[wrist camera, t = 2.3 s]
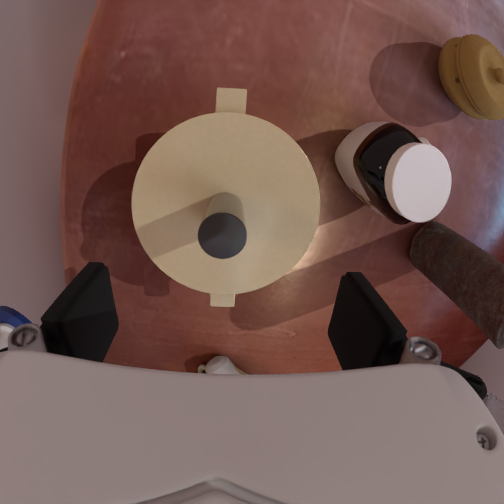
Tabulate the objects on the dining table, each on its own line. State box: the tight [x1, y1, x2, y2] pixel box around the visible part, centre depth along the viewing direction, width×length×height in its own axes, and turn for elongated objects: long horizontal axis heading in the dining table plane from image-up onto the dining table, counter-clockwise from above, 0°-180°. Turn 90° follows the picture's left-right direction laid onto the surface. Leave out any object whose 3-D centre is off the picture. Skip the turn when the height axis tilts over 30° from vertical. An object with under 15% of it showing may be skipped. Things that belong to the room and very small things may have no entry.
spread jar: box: [335, 121, 451, 225], centre depth 25 cm, size 12×11×12 cm
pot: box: [438, 34, 504, 120], centre depth 21 cm, size 12×12×10 cm
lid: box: [132, 112, 320, 295], centre depth 20 cm, size 16×16×7 cm
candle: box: [410, 221, 504, 349], centre depth 26 cm, size 8×7×20 cm
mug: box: [198, 356, 249, 375], centre depth 39 cm, size 8×10×10 cm
